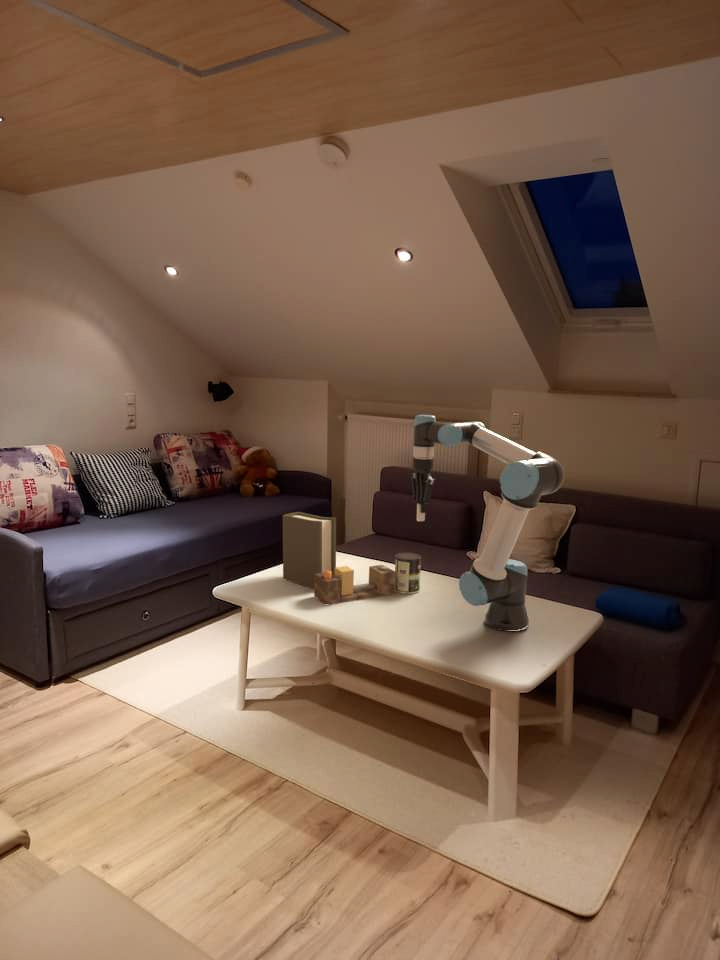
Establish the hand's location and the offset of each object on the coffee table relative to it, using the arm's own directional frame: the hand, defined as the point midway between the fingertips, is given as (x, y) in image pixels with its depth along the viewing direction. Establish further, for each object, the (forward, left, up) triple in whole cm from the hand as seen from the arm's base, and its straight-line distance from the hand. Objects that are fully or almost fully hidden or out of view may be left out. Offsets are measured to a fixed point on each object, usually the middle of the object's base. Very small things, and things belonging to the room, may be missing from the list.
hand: (420, 520), depth 262 cm
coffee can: (+15, -5, -33) cm, 36 cm away
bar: (+18, +17, -31) cm, 39 cm away
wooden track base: (+18, +17, -32) cm, 41 cm away
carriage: (+18, +22, -31) cm, 42 cm away
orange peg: (+18, +29, -27) cm, 44 cm away
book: (+39, +27, -33) cm, 58 cm away
